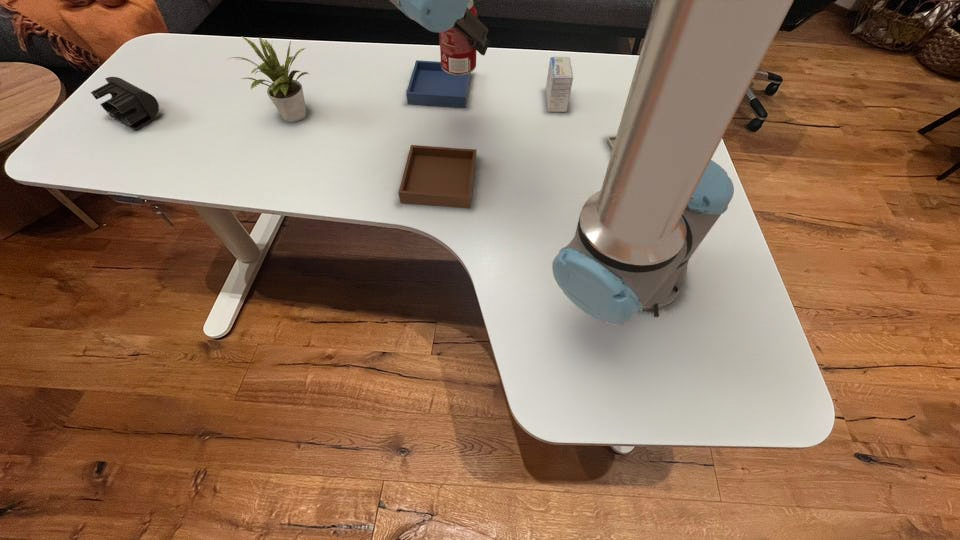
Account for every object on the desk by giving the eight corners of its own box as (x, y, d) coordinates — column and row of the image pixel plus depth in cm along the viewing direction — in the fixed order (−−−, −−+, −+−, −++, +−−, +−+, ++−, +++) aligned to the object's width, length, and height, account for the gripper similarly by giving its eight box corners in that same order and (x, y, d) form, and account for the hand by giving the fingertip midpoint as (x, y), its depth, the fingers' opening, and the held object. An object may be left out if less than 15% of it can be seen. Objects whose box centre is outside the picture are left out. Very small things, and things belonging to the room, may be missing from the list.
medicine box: (566, 112, 98) (574, 77, 91) (546, 112, 98) (552, 76, 91) (563, 91, 102) (570, 56, 95) (544, 91, 102) (550, 55, 95)
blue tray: (465, 108, 98) (465, 97, 96) (407, 104, 98) (406, 93, 96) (470, 74, 105) (471, 63, 103) (417, 71, 106) (415, 60, 104)
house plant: (240, 121, 94) (202, 47, 80) (285, 88, 101) (256, 14, 87) (292, 142, 90) (260, 68, 77) (334, 106, 97) (312, 33, 84)
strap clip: (605, 140, 93) (610, 123, 89) (619, 138, 93) (625, 122, 90) (617, 167, 88) (624, 151, 85) (632, 166, 88) (638, 149, 85)
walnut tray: (470, 208, 81) (470, 198, 79) (400, 203, 82) (398, 192, 79) (476, 160, 89) (476, 149, 86) (412, 155, 89) (410, 144, 87)
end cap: (167, 114, 95) (147, 86, 89) (137, 132, 91) (115, 104, 86) (138, 99, 98) (118, 71, 92) (108, 115, 94) (85, 87, 89)
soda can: (472, 80, 82) (472, 14, 72) (437, 75, 82) (433, 9, 72) (479, 61, 86) (480, -5, 76) (445, 56, 86) (443, -10, 76)
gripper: (344, -15, 65) (420, 45, 87) (450, 25, 60) (504, 78, 81) (361, -68, 63) (435, 6, 85) (472, -33, 58) (522, 37, 79)
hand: (469, 41), depth 83 cm, fingers closed on soda can, 7 cm apart
